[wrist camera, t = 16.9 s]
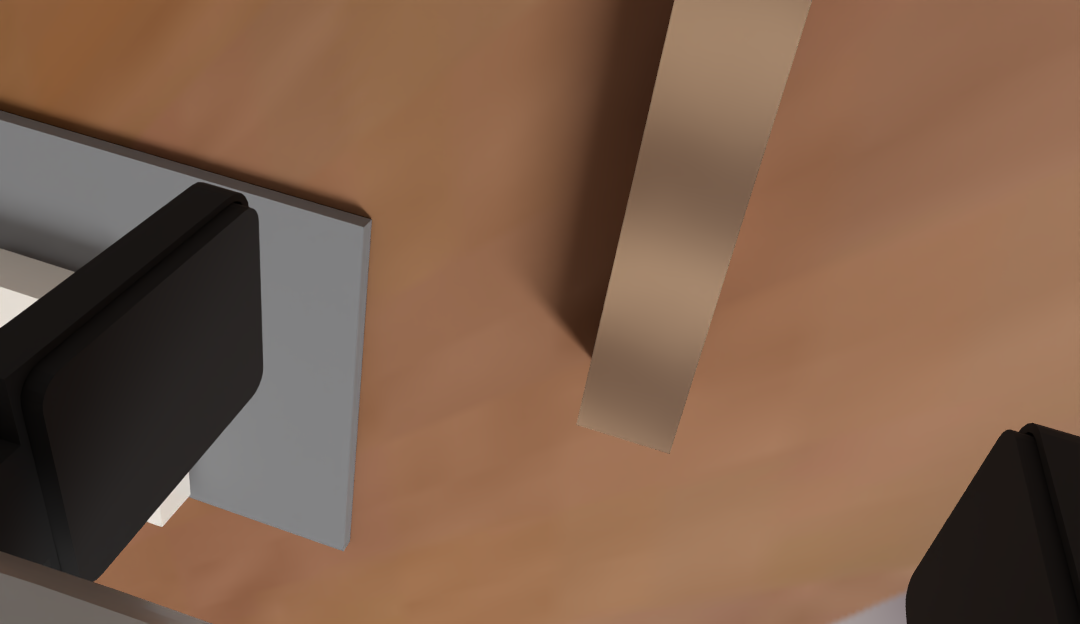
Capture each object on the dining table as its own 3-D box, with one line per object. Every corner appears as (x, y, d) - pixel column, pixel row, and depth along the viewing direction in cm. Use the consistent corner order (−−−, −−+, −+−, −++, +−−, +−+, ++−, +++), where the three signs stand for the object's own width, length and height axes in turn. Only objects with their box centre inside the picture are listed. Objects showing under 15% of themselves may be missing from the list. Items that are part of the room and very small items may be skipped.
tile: (-54, 269, 33) (-6, 467, 39) (142, 332, 32) (162, 527, 38) (-4, 240, 35) (35, 432, 41) (182, 298, 34) (195, 488, 40)
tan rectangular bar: (746, -241, 21) (729, -240, 18) (875, -217, 21) (878, -211, 18) (601, 362, 31) (576, 424, 29) (686, 388, 31) (669, 454, 28)
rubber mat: (-88, 84, 33) (-102, 89, 33) (371, 219, 30) (364, 227, 30) (-11, 415, 42) (-21, 423, 41) (349, 541, 39) (343, 551, 39)
